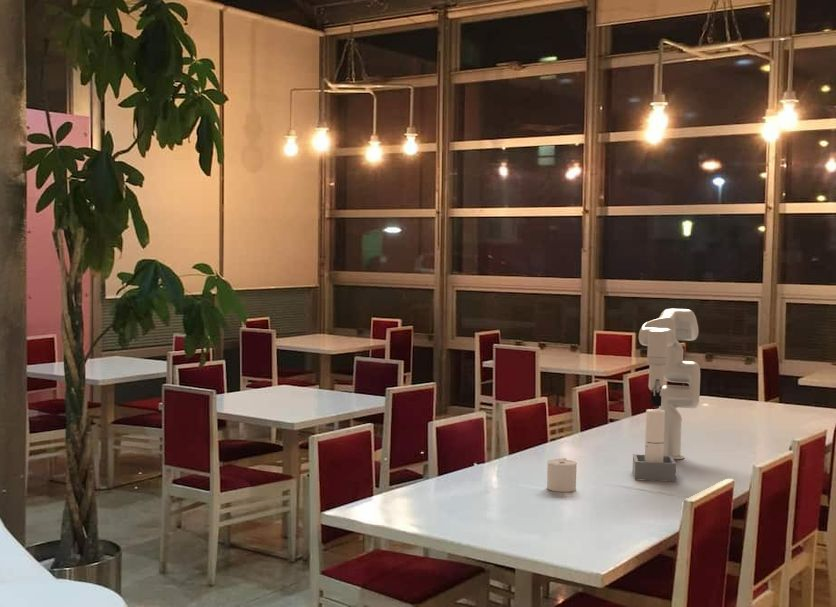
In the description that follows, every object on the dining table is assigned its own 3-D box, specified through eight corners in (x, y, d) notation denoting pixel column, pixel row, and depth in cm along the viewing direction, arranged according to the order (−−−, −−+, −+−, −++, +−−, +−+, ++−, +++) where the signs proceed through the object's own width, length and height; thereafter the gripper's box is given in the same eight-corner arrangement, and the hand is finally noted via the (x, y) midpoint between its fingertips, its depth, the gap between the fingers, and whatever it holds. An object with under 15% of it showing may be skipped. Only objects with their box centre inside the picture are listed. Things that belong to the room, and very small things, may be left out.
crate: (632, 471, 386) (633, 454, 386) (671, 473, 383) (672, 456, 383) (634, 479, 371) (635, 461, 370) (675, 481, 368) (676, 463, 368)
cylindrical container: (655, 475, 372) (657, 412, 371) (640, 472, 378) (642, 410, 377) (666, 473, 377) (668, 411, 376) (651, 470, 382) (653, 408, 381)
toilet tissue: (553, 492, 346) (554, 465, 346) (540, 485, 358) (541, 459, 357) (580, 491, 349) (581, 464, 349) (567, 484, 360) (567, 458, 360)
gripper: (645, 358, 384) (644, 400, 385) (648, 363, 367) (647, 407, 368) (664, 358, 383) (663, 401, 384) (668, 363, 366) (667, 407, 367)
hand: (655, 404), depth 376 cm, fingers open, 9 cm apart
